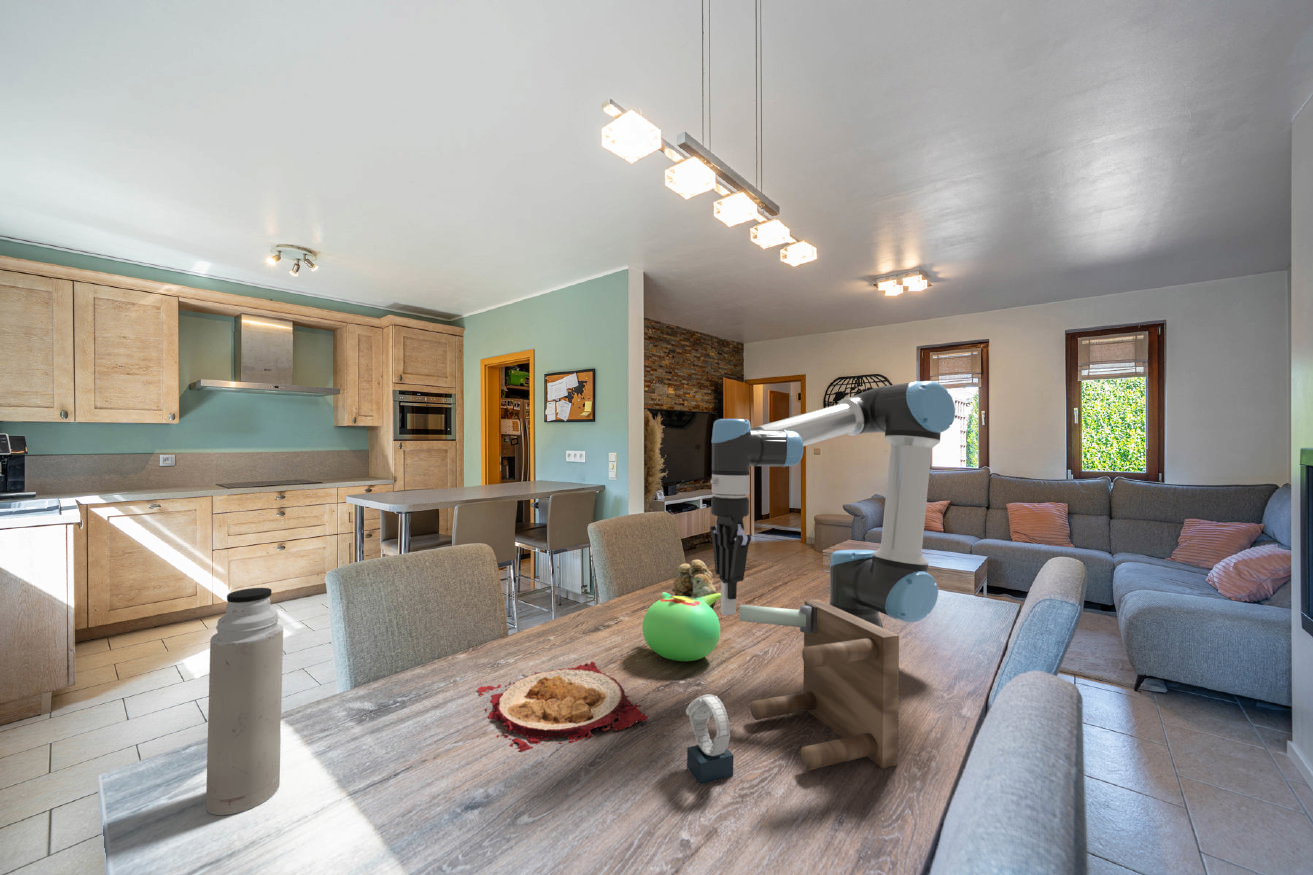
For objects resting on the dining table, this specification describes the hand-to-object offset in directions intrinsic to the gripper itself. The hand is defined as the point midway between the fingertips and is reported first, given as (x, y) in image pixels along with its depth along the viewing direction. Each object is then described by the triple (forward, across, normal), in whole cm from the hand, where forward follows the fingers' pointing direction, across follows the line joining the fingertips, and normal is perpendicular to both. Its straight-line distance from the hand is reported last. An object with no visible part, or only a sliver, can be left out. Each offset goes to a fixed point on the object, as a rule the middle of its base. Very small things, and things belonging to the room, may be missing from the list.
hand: (728, 613), depth 106 cm
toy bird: (+16, -19, -2) cm, 24 cm away
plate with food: (+16, -5, -33) cm, 37 cm away
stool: (+15, +20, +6) cm, 26 cm away
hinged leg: (0, +10, +4) cm, 11 cm away
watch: (+16, +22, -15) cm, 31 cm away
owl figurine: (+16, -41, +11) cm, 45 cm away
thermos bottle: (+16, +6, -78) cm, 80 cm away
